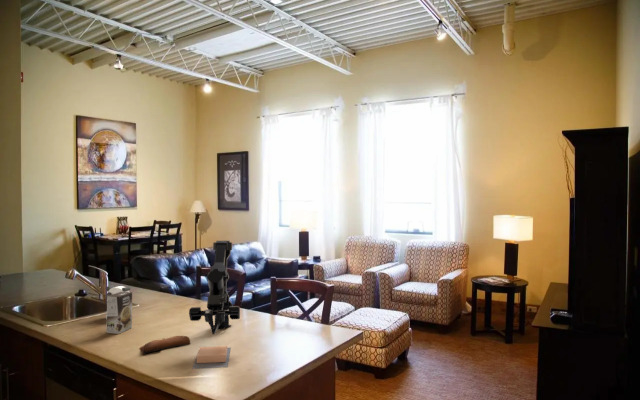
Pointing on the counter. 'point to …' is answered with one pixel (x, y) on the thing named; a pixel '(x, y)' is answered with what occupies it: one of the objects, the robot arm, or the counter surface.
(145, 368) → the counter surface
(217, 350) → the tile
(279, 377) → the counter surface
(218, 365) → the mat
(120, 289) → the white piece
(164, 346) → the sunglasses case
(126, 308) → the coffee box
